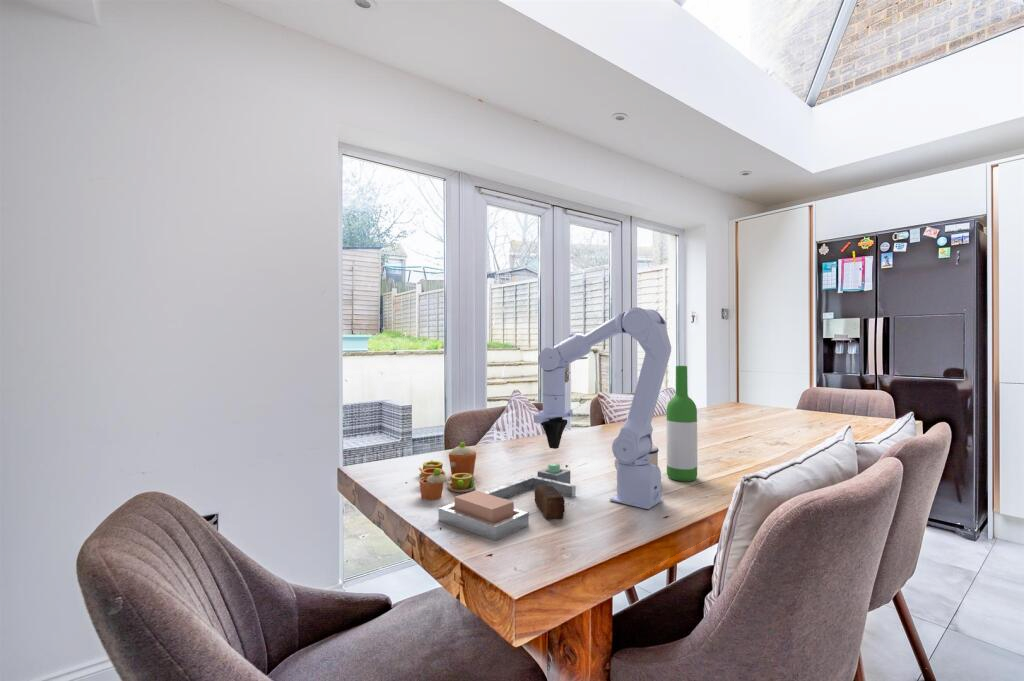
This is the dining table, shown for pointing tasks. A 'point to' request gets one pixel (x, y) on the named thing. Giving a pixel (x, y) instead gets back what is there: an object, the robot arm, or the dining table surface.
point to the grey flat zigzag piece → (509, 524)
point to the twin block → (484, 506)
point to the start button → (554, 468)
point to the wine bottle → (681, 432)
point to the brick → (549, 502)
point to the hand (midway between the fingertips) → (553, 447)
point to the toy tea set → (460, 470)
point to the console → (556, 475)
